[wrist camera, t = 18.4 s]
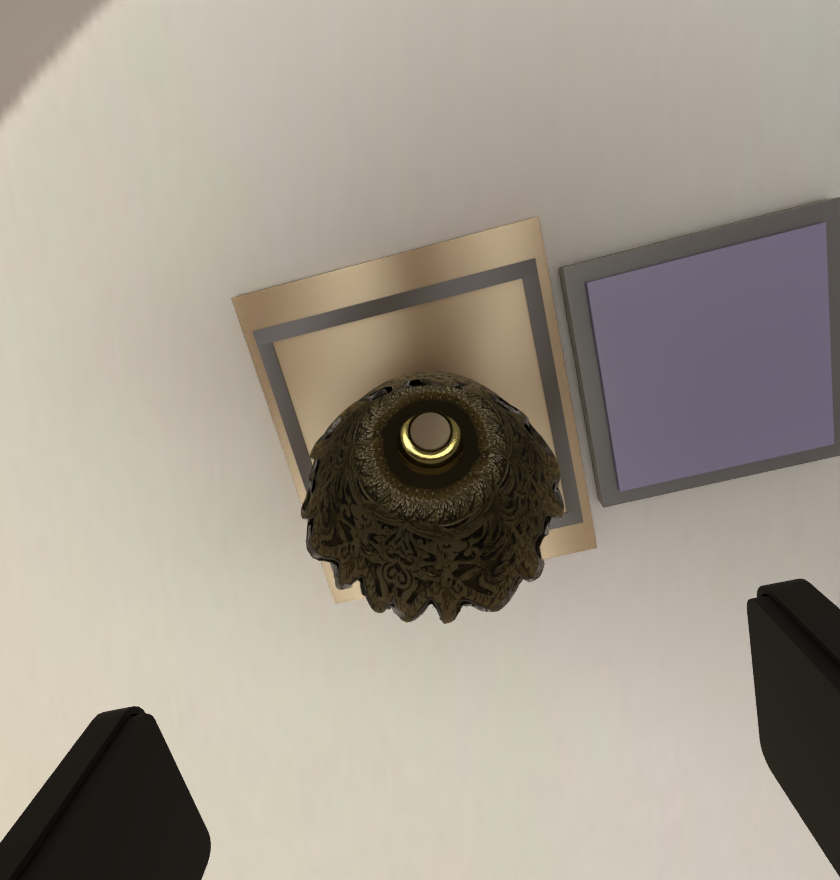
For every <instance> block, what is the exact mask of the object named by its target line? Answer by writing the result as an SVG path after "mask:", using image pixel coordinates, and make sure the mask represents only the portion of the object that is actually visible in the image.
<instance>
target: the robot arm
mask: <svg viewBox="0 0 840 880" xmlns="http://www.w3.org/2000/svg"><path fill="white" fill-rule="evenodd" d="M747 614H748V624H749V634H750V645H751V655H752V665H753V675H754V686H755V696H756V706H757V716H758V726H759V737H760V744H761V748H762V752H763V755H764V757H765V760H766V762H767V764H768V766H769V768H770V770H771V772H772V773H773V775H774V776H775V778H776V780H777V781H778V783H779V784H780V786H781V787H782V789H783V790H784V792H785V793H786V795H787V796H788V798H789V800H790V801H791V803H792V804H793V806H794V807H795V809H796V810H797V812H798V813H799V815H800V817H801V818H802V820H803V821H804V823H805V824H806V826H807V827H808V829H809V830H810V832H811V833H812V835H813V837H814V838H815V840H816V841H817V843H818V844H819V846H820V847H821V849H822V850H823V852H824V854H825V855H826V857H827V858H828V860H829V861H830V863H831V864H832V866H833V867H834V869H835V870H836V872H837V874H838V875H839V877H840V609H839V608H838V607H837V606H836V605H835V604H833V603H832V602H831V601H830V600H829V599H828V598H827V597H825V596H824V595H823V594H822V593H821V592H820V591H818V590H817V589H816V588H815V587H814V586H813V585H812V584H810V583H809V582H808V581H806V580H805V579H795V580H790V581H785V582H779V583H774V584H769V585H764V586H761V587H759V588H758V591H757V598H752V599H749V600H748V602H747ZM210 850H211V841H210V836H209V832H208V830H207V828H206V826H205V824H204V822H203V820H202V818H201V815H200V813H199V811H198V809H197V807H196V805H195V803H194V801H193V799H192V796H191V794H190V792H189V790H188V788H187V786H186V784H185V782H184V780H183V777H182V775H181V773H180V771H179V769H178V767H177V765H176V763H175V761H174V758H173V756H172V754H171V752H170V750H169V748H168V746H167V744H166V742H165V739H164V737H163V735H162V733H161V731H160V729H159V727H158V725H157V723H156V720H155V719H154V717H153V716H152V715H150V714H146V713H145V712H144V710H143V709H141V708H140V707H136V706H133V707H128V708H122V709H117V710H112V711H107V712H103V713H100V714H98V715H97V716H96V717H95V718H94V719H93V720H92V721H91V723H90V724H89V725H88V727H87V728H86V729H85V731H84V732H83V733H82V735H81V736H80V737H79V739H78V740H77V741H76V743H75V744H74V745H73V747H72V748H71V749H70V751H69V752H68V753H67V755H66V756H65V757H64V759H63V760H62V761H61V763H60V764H59V765H58V767H57V768H56V769H55V771H54V772H53V773H52V775H51V776H50V777H49V779H48V780H47V781H46V783H45V784H44V785H43V787H42V788H41V789H40V791H39V792H38V793H37V795H36V796H35V797H34V799H33V800H32V801H31V803H30V804H29V805H28V807H27V808H26V809H25V811H24V812H23V813H22V815H21V816H20V817H19V819H18V820H17V821H16V823H15V824H14V825H13V827H12V828H11V829H10V831H9V832H8V833H7V835H6V836H5V837H4V839H3V840H2V841H1V843H0V880H201V879H202V877H203V874H204V871H205V869H206V866H207V863H208V860H209V857H210Z"/></svg>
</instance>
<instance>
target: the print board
mask: <svg viewBox="0 0 840 880" xmlns="http://www.w3.org/2000/svg"><path fill="white" fill-rule="evenodd" d="M232 301H233V304H234V307H235V310H236V313H237V316H238V319H239V322H240V325H241V328H242V331H243V334H244V337H245V339H246V342H247V345H248V348H249V351H250V354H251V357H252V360H253V363H254V366H255V369H256V372H257V375H258V378H259V381H260V384H261V387H262V389H263V392H264V395H265V398H266V401H267V404H268V407H269V410H270V413H271V416H272V419H273V422H274V425H275V428H276V431H277V434H278V437H279V439H280V442H281V445H282V448H283V451H284V454H285V457H286V460H287V463H288V466H289V469H290V472H291V475H292V478H293V481H294V484H295V487H296V489H297V492H298V495H299V498H300V501H301V504H303V502H304V500H305V498H306V494H307V492H308V490H309V484H310V483H309V474H310V472H311V469H312V466H313V462H314V459H310V458H309V456H310V453H311V451H312V449H313V447H314V445H315V443H316V442H317V440H318V439H319V438H320V437H321V436H322V435H323V434H324V433H325V431H326V430H327V428H328V427H329V426H330V424H331V423H332V422H333V421H334V420H335V419H336V418H337V417H338V416H339V415H340V414H341V413H342V412H343V411H344V410H345V409H347V408H348V407H349V406H350V405H352V404H353V403H354V402H356V401H358V400H359V399H360V398H362V397H363V396H364V395H366V394H367V393H368V392H369V391H371V390H372V389H374V388H376V387H377V386H379V385H381V384H382V383H384V382H386V381H388V380H390V379H393V378H395V377H398V376H401V375H404V374H409V373H413V372H421V371H442V372H449V373H454V374H458V375H461V376H464V377H467V378H470V379H472V380H474V381H476V382H478V383H480V384H482V385H484V386H485V387H487V388H488V389H490V390H491V391H493V392H494V393H496V394H497V395H499V396H500V397H501V398H503V399H504V400H505V401H506V402H508V403H509V404H510V405H512V406H514V407H516V408H517V409H519V410H520V411H521V412H523V413H524V414H525V415H526V416H527V417H528V419H529V420H528V421H529V422H530V424H531V425H532V426H533V427H534V428H535V429H536V431H537V432H538V433H539V434H540V435H541V436H542V437H543V439H544V440H545V441H546V443H547V444H548V446H549V447H550V449H551V450H552V452H553V454H554V455H555V457H556V460H557V462H558V465H559V470H560V482H559V486H558V488H559V490H560V493H561V495H562V498H563V502H564V513H563V516H562V519H561V520H558V521H556V518H553V517H552V518H551V522H550V525H549V534H548V535H547V536H546V537H544V539H543V541H542V543H541V546H540V549H541V556H542V559H547V558H552V557H556V556H561V555H566V554H570V553H575V552H580V551H584V550H589V549H594V548H597V544H596V538H595V533H594V527H593V521H592V516H591V510H590V504H589V499H588V493H587V488H586V482H585V476H584V471H583V465H582V459H581V454H580V448H579V442H578V437H577V431H576V425H575V420H574V414H573V409H572V403H571V397H570V392H569V386H568V380H567V375H566V369H565V363H564V358H563V352H562V346H561V341H560V335H559V330H558V324H557V318H556V313H555V307H554V301H553V296H552V290H551V284H550V279H549V273H548V268H547V262H546V256H545V251H544V245H543V239H542V234H541V228H540V222H539V217H535V218H531V219H528V220H524V221H520V222H516V223H512V224H509V225H505V226H501V227H497V228H494V229H490V230H486V231H482V232H479V233H475V234H471V235H467V236H463V237H460V238H456V239H452V240H448V241H445V242H441V243H437V244H433V245H430V246H426V247H422V248H418V249H414V250H411V251H407V252H403V253H399V254H396V255H392V256H388V257H384V258H381V259H377V260H373V261H369V262H365V263H362V264H358V265H354V266H350V267H347V268H343V269H339V270H335V271H331V272H328V273H324V274H320V275H316V276H313V277H309V278H305V279H301V280H298V281H294V282H290V283H286V284H282V285H279V286H275V287H271V288H267V289H264V290H260V291H256V292H252V293H249V294H245V295H241V296H237V297H233V298H232ZM410 433H411V438H412V440H413V442H414V443H415V444H416V445H417V446H418V447H419V448H421V449H423V450H428V451H433V450H437V449H440V448H441V447H443V446H444V445H445V444H446V443H447V441H448V439H449V437H450V427H449V424H448V422H447V421H446V419H445V418H444V417H442V416H441V415H439V414H436V413H424V414H422V415H420V416H418V417H417V418H416V419H415V420H414V422H413V423H412V426H411V430H410ZM307 522H308V519H307ZM321 563H322V566H323V569H324V572H325V575H326V578H327V581H328V584H329V587H330V589H331V592H332V595H333V598H334V601H335V604H337V603H342V602H346V601H351V600H356V599H360V598H365V596H364V595H362V593H361V590H360V582H359V581H356V582H355V583H353V585H352V586H353V587H350V588H349V589H344V590H339V589H337V588H336V586H335V579H334V565H332V564H331V563H329V562H324V561H321Z"/></svg>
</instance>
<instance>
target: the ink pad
mask: <svg viewBox="0 0 840 880" xmlns="http://www.w3.org/2000/svg"><path fill="white" fill-rule="evenodd" d="M559 271H560V277H561V283H562V289H563V294H564V300H565V306H566V312H567V318H568V323H569V329H570V335H571V341H572V347H573V353H574V358H575V364H576V370H577V376H578V382H579V388H580V393H581V399H582V405H583V411H584V417H585V423H586V428H587V434H588V440H589V446H590V452H591V458H592V463H593V469H594V475H595V481H596V487H597V492H598V498H599V502H600V503H601V504H602V506H603V507H608V506H612V505H617V504H622V503H626V502H631V501H635V500H640V499H644V498H649V497H653V496H658V495H662V494H667V493H671V492H676V491H681V490H685V489H690V488H694V487H699V486H703V485H708V484H712V483H717V482H721V481H726V480H731V479H735V478H740V477H744V476H749V475H753V474H758V473H762V472H767V471H771V470H776V469H780V468H785V467H790V466H794V465H799V464H803V463H808V462H812V461H817V460H821V459H826V458H830V457H835V456H839V455H840V197H838V198H831V199H825V200H822V201H818V202H814V203H810V204H806V205H802V206H798V207H794V208H790V209H786V210H783V211H779V212H775V213H771V214H767V215H763V216H759V217H755V218H751V219H748V220H744V221H740V222H736V223H732V224H728V225H724V226H720V227H716V228H713V229H709V230H705V231H701V232H697V233H693V234H689V235H685V236H681V237H677V238H674V239H670V240H666V241H662V242H658V243H654V244H650V245H646V246H642V247H639V248H635V249H631V250H627V251H623V252H619V253H615V254H611V255H607V256H603V257H600V258H596V259H592V260H588V261H584V262H580V263H576V264H572V265H568V266H565V267H561V268H559Z"/></svg>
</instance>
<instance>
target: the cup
mask: <svg viewBox="0 0 840 880" xmlns="http://www.w3.org/2000/svg"><path fill="white" fill-rule="evenodd" d="M424 413H436V414H439V415H441V416H442V417H444V418H445V419H446V421H447V422H448V424H449V427H450V437H449V439H448V441H447V443H446V444H445V445H444V446H443V447H441V448H440V449H437V450H433V451H428V450H423V449H421V448H419V447H418V446H417V445H416V444H415V443H414V442H413V440H412V438H411V433H410V430H411V426H412V423H413V422H414V420H415V419H416V418H417V417H418V416H420V415H422V414H424ZM528 420H529V419H528V417H527V416H526V415H525V414H524V413H523V412H521V411H520V410H519V409H517V408H516V407H514V406H512V405H510V404H509V403H508V402H506V401H505V400H504V399H503V398H501V397H500V396H499V395H497V394H496V393H494V392H493V391H491V390H490V389H488V388H487V387H485V386H484V385H482V384H480V383H478V382H476V381H474V380H472V379H470V378H467V377H464V376H461V375H458V374H454V373H449V372H442V371H421V372H413V373H409V374H404V375H401V376H398V377H395V378H393V379H390V380H388V381H386V382H384V383H382V384H381V385H379V386H377V387H376V388H374V389H372V390H371V391H369V392H368V393H367V394H366V395H364V396H363V397H362V398H360V399H359V400H358V401H356V402H354V403H353V404H352V405H350V406H349V407H348V408H347V409H345V410H344V411H343V412H342V413H341V414H340V415H339V416H338V417H337V418H336V419H335V420H334V421H333V422H332V423H331V424H330V426H329V427H328V428H327V430H326V431H325V433H324V434H323V435H322V436H321V437H320V438H319V439H318V440H317V442H316V443H315V445H314V447H313V449H312V451H311V453H310V456H309V458H310V459H314V462H313V466H312V469H311V472H310V474H309V483H310V484H309V490H308V492H307V494H306V498H305V500H304V502H303V504H302V508H301V516H302V518H303V519H308V526H307V537H306V546H307V550H308V552H309V553H310V555H311V556H312V558H314V559H317V560H319V561H324V562H329V563H331V564H332V565H334V579H335V586H336V588H337V589H339V590H344V589H349V588H350V587H353V586H352V585H353V583H355V582H356V581H359V582H360V590H361V593H362V595H364V596H365V597H366V599H367V601H368V603H369V605H370V606H371V608H372V609H373V610H374V611H375V612H377V613H383V612H384V611H385V610H386V609H387V608H388V609H390V608H391V607H392V609H393V612H394V613H395V614H397V615H398V616H399V617H400V619H401V620H402V621H405V622H411V621H414V620H416V619H417V618H418V617H419V616H420V615H422V614H423V613H424V612H425V610H426V609H427V608H428V606H429V605H430V604H433V606H434V607H435V608H436V610H437V611H438V614H439V616H440V620H442V622H443V623H444V624H446V623H450V622H452V621H453V620H455V619H456V617H457V615H458V613H459V612H460V611H461V608H462V606H473V607H475V608H476V609H478V610H480V611H486V612H496V611H499V610H501V609H502V608H503V607H504V606H505V605H506V604H507V603H508V602H509V601H510V599H511V598H512V597H513V595H514V593H515V592H516V590H517V588H518V586H519V584H520V583H521V582H522V580H523V579H524V580H526V581H528V582H531V581H534V580H536V579H537V578H539V577H540V575H541V573H542V571H543V568H544V561H543V559H542V556H541V549H540V546H541V543H542V541H543V539H544V537H546V536H547V535H548V534H549V525H550V522H551V518H552V517H553V518H556V521H558V520H561V519H562V516H563V513H564V502H563V498H562V495H561V493H560V490H559V488H558V486H559V482H560V470H559V465H558V462H557V460H556V457H555V455H554V454H553V452H552V450H551V449H550V447H549V446H548V444H547V443H546V441H545V440H544V439H543V437H542V436H541V435H540V434H539V433H538V432H537V431H536V429H535V428H534V427H533V426H532V425H531V424H530V422H529V421H528ZM460 607H461V608H460ZM432 608H433V607H432Z"/></svg>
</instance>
